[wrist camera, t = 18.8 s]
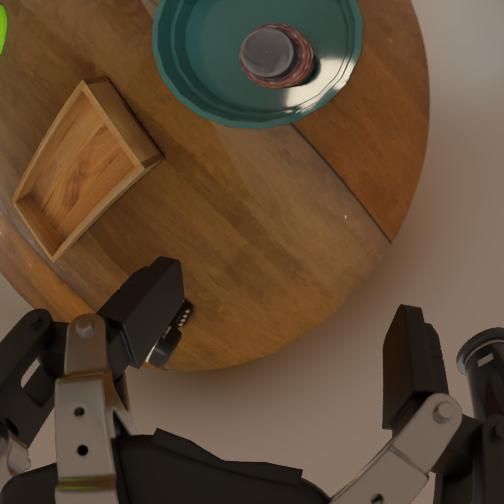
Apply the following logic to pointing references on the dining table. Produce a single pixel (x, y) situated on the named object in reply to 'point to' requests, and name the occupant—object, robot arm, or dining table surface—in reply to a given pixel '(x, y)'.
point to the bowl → (228, 63)
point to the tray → (82, 166)
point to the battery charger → (169, 337)
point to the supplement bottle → (277, 56)
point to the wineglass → (2, 26)
